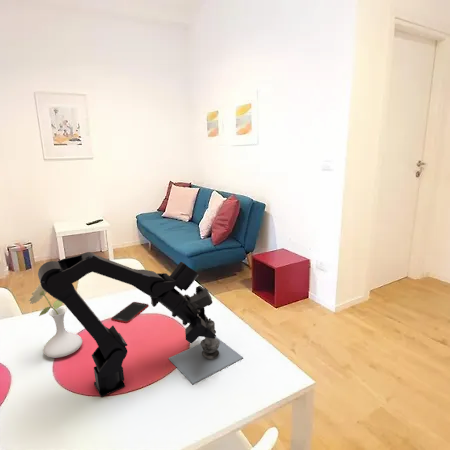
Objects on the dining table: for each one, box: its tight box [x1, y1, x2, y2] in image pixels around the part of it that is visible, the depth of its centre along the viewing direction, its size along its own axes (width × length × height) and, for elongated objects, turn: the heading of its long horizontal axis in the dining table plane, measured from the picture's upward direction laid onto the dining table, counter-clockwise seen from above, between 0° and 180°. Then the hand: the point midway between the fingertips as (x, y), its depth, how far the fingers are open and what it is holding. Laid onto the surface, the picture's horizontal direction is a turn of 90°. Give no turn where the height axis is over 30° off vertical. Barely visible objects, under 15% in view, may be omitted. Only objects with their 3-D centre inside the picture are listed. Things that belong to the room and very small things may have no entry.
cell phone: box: [110, 301, 150, 324], centre depth 129 cm, size 8×15×1 cm, turn 159°
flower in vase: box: [28, 283, 83, 359], centre depth 102 cm, size 13×11×25 cm
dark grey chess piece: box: [200, 318, 220, 359], centre depth 100 cm, size 6×6×12 cm
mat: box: [167, 336, 244, 385], centre depth 100 cm, size 18×14×1 cm
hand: (214, 333), depth 100 cm, fingers closed on dark grey chess piece, 4 cm apart
